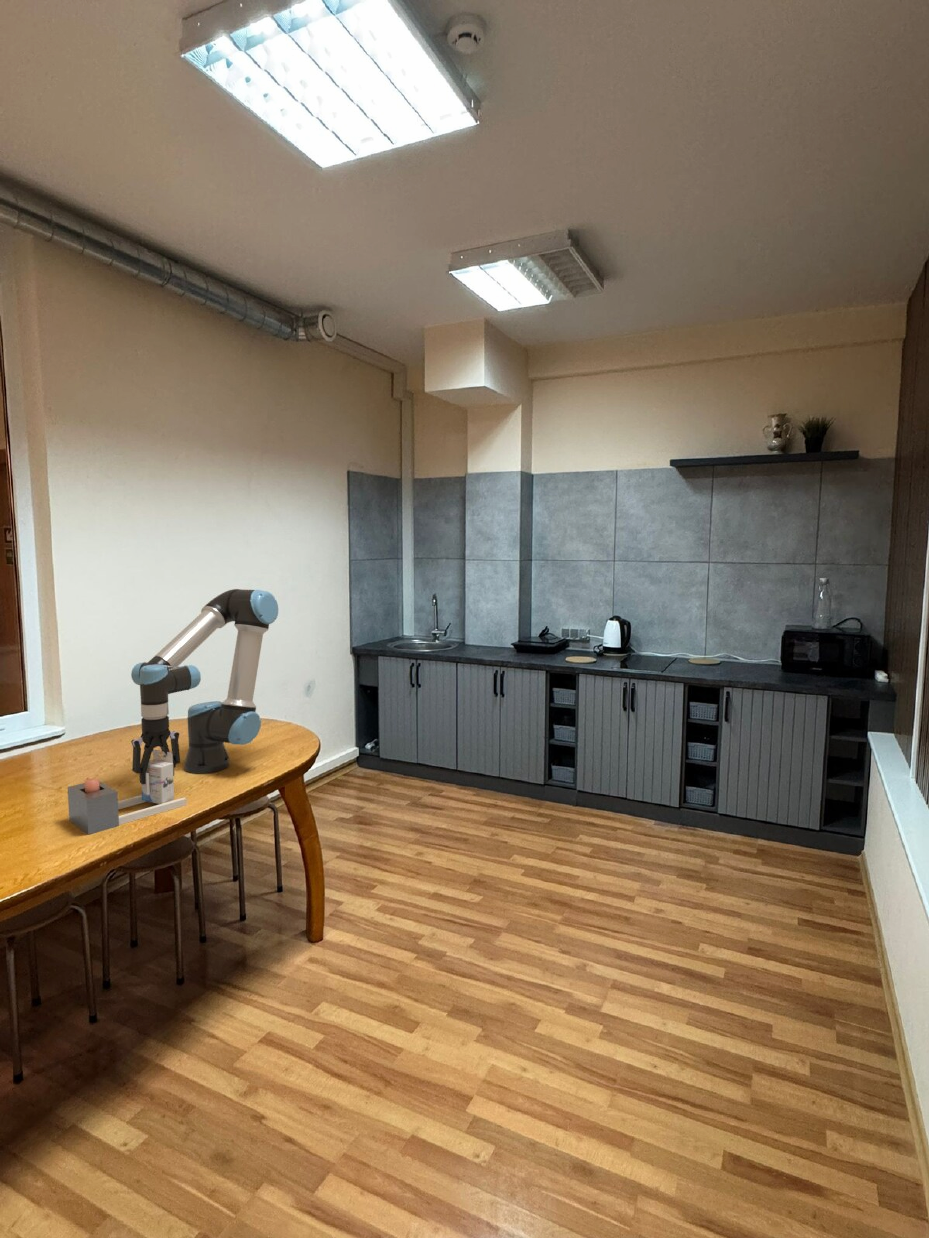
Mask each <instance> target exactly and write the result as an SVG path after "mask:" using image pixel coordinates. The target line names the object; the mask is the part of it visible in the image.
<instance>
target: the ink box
mask: <svg viewBox="0 0 929 1238" xmlns="http://www.w3.org/2000/svg"><path fill="white" fill-rule="evenodd" d="M161 755H163V756H161ZM164 755H166V754H165V753H164V751H162V750H157V749H153V751H152V759H150V760H149V764H148V768H147V771H146V772H147V773H149V790H150V795H146V794H144V793H143V785H142V784H141V795H142V800H145V801H148V803H153V804H157V805H159V804H163V803H166V802H170V801H173V800H175V787H174V786H175V785H174V779H175V778H174V777H173V754H172V752H171V751H170V752H167V755H166V757H164Z"/></svg>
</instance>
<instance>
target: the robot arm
mask: <svg viewBox="0 0 929 1238" xmlns="http://www.w3.org/2000/svg"><path fill="white" fill-rule="evenodd" d="M278 616H279V604H278V601H277V599H276V597H275V596H274V594H273V593H271V592H269V591H267V590H260V589H239V588H233V589H229V590H227V591H224V592H222V593H221V594H219V595H217V596H215V597H214V598H212V599H211V600H210V601H209V602H207V603H206V604H205V605H204V606H203V607H202V608H201V610H200V613H199V614H198V616H196V617H195V619H193V620H192V621H191V622H190V623H189V624H188V625H187V626H186V627H185V628H183V630H181V631H180V632H179V633H178V634H177V635H176V636H175V637H174V638H173V639H171V641H169V643H167V644H166V645H165V646H164V647H163V648H162V649H161V650H159V652H157V653H156V654H155V655H154V656H153V657H152V658H151V659H149V661H148V662H145V661H144V662H138V663H136V664H135V665H134V667H133V668H132V670H131V674H130V675H131V680H132V681H133V683H134V684H135V685H137V686H139V692H140V693H139V694H140V715H141V716H140V717H142V718H141V723H140V724H141V735H140V737H139V738H136V739H132V740H131V741H130V742H131V745H132V766H131V767H132V768H131V770H132V772H133V773H135V774H139V783H140V785H141V786H142V785H143V793H144V794H146V795H150V790H149V773H147V772H146V771H147V768H148V764H149V760H151V757H152V754H153V750H155V749H156V748H158V747H160V751H164V753H165V754H166V755H167V752H170V753H172V754H173V778H174V777H175V768H176V766H177V765H179V764H180V763H181V754H180V753H181V752H180V747H179V738H180V733H179V732H177V731H175V730H174V731H171V730H170V719H169V718H170V717H169V713H170V712H169V711H170V710H169V695H170V694H175V693H179V692H184V691H190V690H192V689H195V688H196V687H198V686H199V685H200V684H201V683H200V682H201V680H202V679H201V678H202V677H201V676H202V675H201V672H200V670H199V668H198V667H197V666H195V665H192V664H189V665H187V664H185V665H183V666H180V665H181V664H182V663H183V662H184V661H185V660H186V659H187V658H188V657H189V656H191V654H193V652H195V650H197V648H199V647H200V645H202V644H203V643H204V642H205V641H206V640H207V639H208V638H209V637H210V636H211V635H212V634H213V633H214V632H216V630H218V629H222V628H223V627H225V626H226V625H228V624H230V623H233V622H234V623H233V624H234V625H233V626H234V627H235V628H236V629H237V635H236V642H235V648H234V653H233V659H232V666H231V673H230V676H229V677H230V678H229V685H228V691H227V697H226V699H224V700H223V701H217V700H216V701H206V702H202V703H200V702H199V703H196V704H193V705H191V706H189V708H188V709H187V718H186V719H187V732H188V733H187V734H188V736H187V738H188V750H187V753H186V756H185V759H184V762H183V768H184V769H183V770H184V771H186V772H187V773H190V774H191V773H192V774H209V773H215V772H219V771H222V770H225V769H226V768H228V767H230V757H229V755H228V752H227V749H226V747H225V743H228V744H232V745H236V746H237V745H240V746H244V745H248V744H250V743H251V742H252V741H253V740H255V738H257V736H258V734H259V733H260V730H261V725H262V720H261V718H260V715H259V714H258V713H257V712H256V711H257V706H256V704H255V703H254V701H253V700H254V695H255V694H254V693H255V689H256V688H255V687H256V681H257V675H258V668H259V663H260V657H261V651H262V644H263V636H264V634H265V633H266V632H268V631H269V630H270V629H269V627H270V625H272V624H274V623H275V621H276V620H277V618H278ZM169 738H170V747H171V751H170V749H169V744H168V742H167V741H168V739H169ZM142 743H143V744H144V746H143V753H142V752H141V751H142V748H141V746H142V745H143V744H142ZM141 754H142V755H141ZM166 755H163V757H166ZM141 756H142V757H141Z"/></svg>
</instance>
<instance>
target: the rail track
mask: <svg viewBox="0 0 929 1238" xmlns="http://www.w3.org/2000/svg"><path fill="white" fill-rule="evenodd" d="M146 802H147V803H149V801H145V800H142V794H140V795H136V796H133V797H129V798H126V799H122V800H118V811H120V810H122V809H125V808H130V807H133V806H137V805H140V804H144V803H146ZM187 805H188V804H187V798H185V797H182V798H181V797H180V798H177V799H173V800H171V801H169V802H166V803H163V804H157V805H153V806H150V807H147V808H143V809H139V810H136V811H132V812H129V813H125V814H122V815H119V826H121V825H125V824H127V823H130V822H134V821H136V820H137V821H138V820H140V819H144V818H147V817H151V816H153V815H159V814H161V813H164V812H167V811H171V810H174V809H178V808H182V807H185V806H187Z"/></svg>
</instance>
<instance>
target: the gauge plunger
mask: <svg viewBox="0 0 929 1238" xmlns="http://www.w3.org/2000/svg"><path fill="white" fill-rule="evenodd" d="M99 781H100V779H99V778H89V779H86V780H84V783H85V793H86V794H88V793H92V792H96V791H100V789H99Z"/></svg>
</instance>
